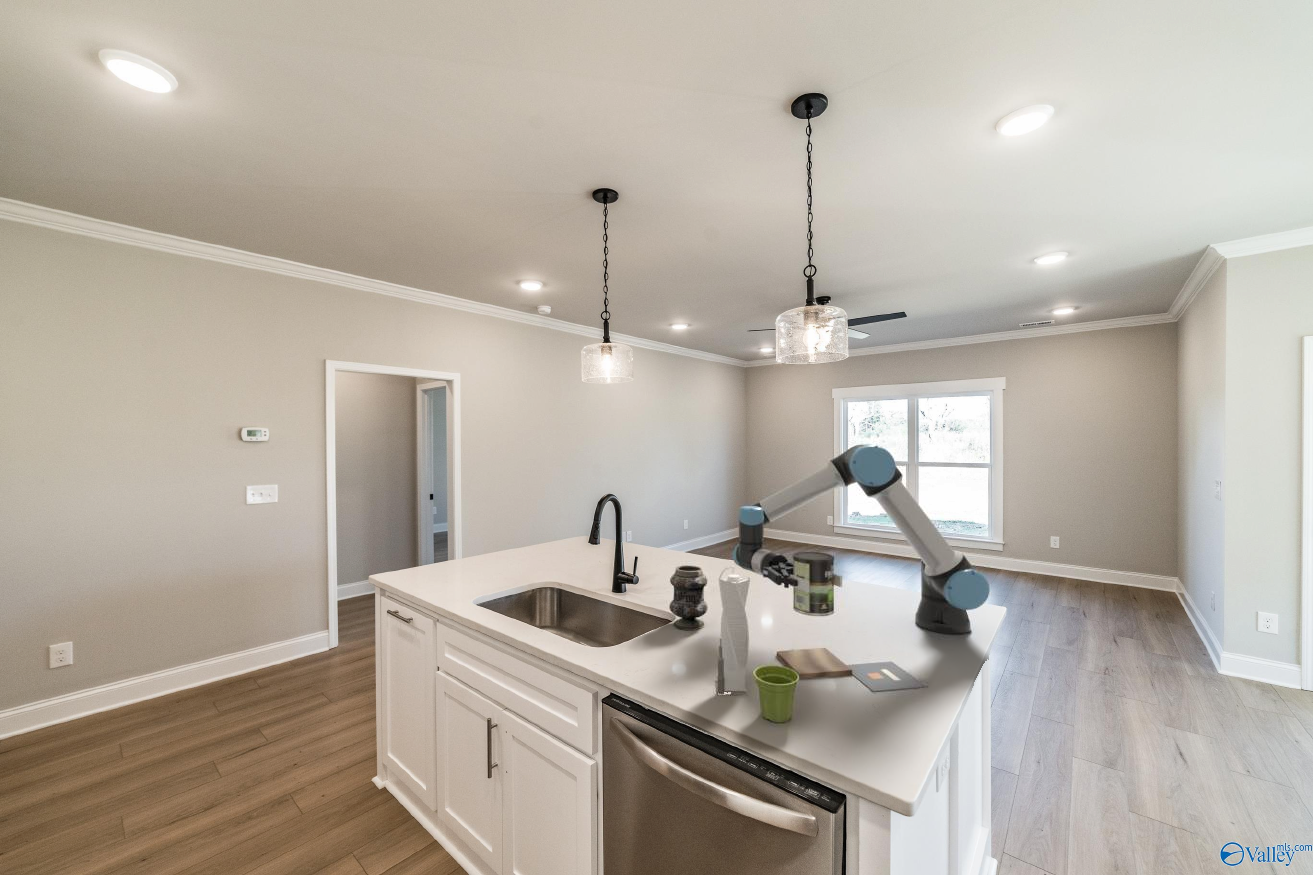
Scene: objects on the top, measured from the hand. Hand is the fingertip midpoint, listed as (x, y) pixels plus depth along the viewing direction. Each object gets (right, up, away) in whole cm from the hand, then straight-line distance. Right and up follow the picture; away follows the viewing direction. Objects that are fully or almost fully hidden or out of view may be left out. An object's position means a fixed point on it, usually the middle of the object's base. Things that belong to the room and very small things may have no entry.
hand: (824, 583), depth 131 cm
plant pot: (-17, -22, -21) cm, 35 cm away
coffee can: (-2, -8, +4) cm, 9 cm away
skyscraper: (-24, -23, -8) cm, 34 cm away
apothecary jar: (-32, -23, +33) cm, 52 cm away
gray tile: (+13, -22, -3) cm, 26 cm away
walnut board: (-2, -22, +4) cm, 22 cm away
